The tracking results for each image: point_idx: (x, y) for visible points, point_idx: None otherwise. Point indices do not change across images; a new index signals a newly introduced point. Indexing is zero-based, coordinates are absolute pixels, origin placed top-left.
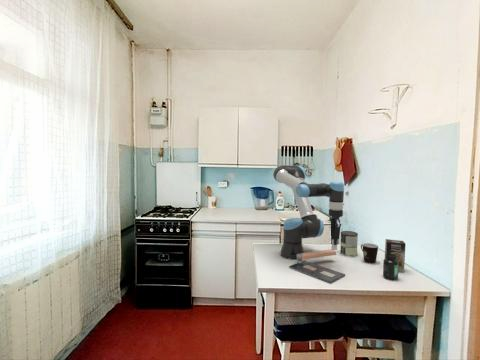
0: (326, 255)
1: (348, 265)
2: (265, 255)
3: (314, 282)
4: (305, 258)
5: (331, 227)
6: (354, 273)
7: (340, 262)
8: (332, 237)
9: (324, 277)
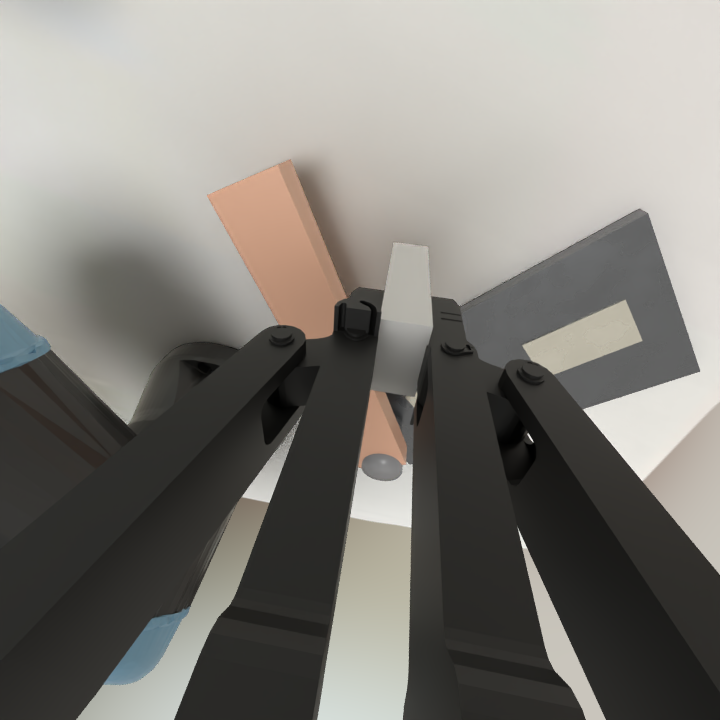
0: (338, 282)
1: (409, 34)
2: (258, 484)
3: (621, 425)
4: (399, 433)
5: (197, 548)
6: (631, 71)
7: (323, 102)
8: (369, 394)
9: (619, 379)
